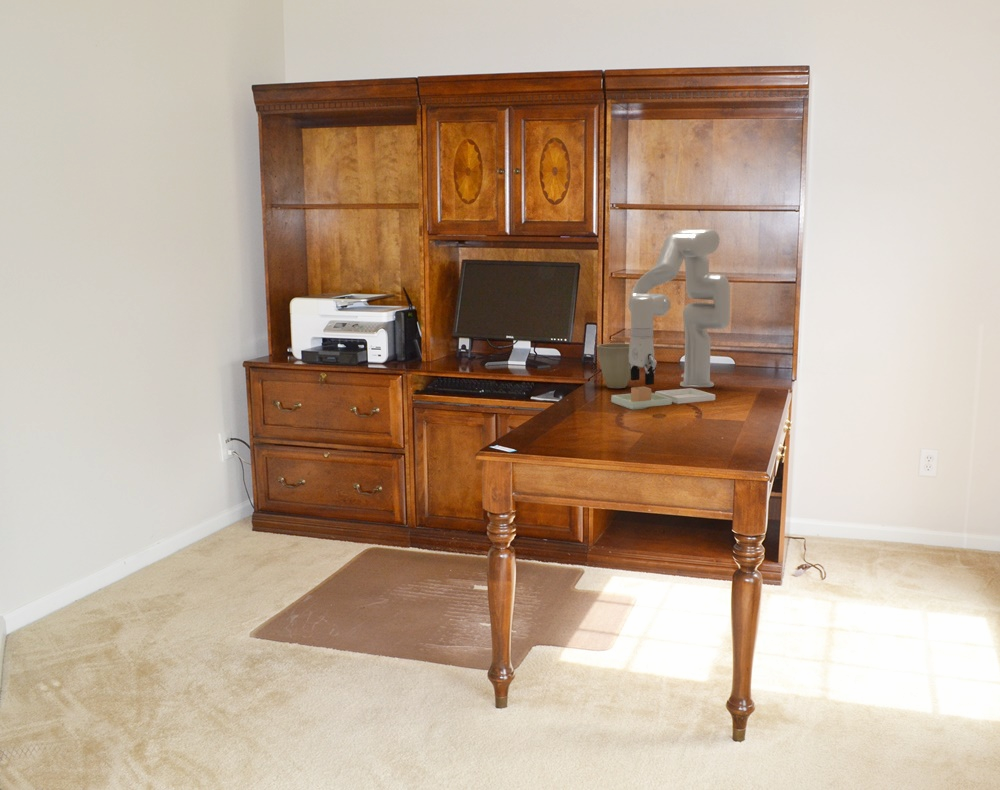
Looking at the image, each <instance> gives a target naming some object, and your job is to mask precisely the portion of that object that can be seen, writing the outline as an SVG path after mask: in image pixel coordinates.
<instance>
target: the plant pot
mask: <svg viewBox="0 0 1000 790" xmlns="http://www.w3.org/2000/svg"><path fill="white" fill-rule="evenodd" d="M629 345H630V343H619V342H617V343H616V342H615V343H603V344H602V343H601V344H597V345H596V348H597V354H598V361H599V366H600V369H601V370H600V371H601V373H602V376H603V377H602V378H603V380H604V382H605V385H606V388H609V389H625V388H627V386H628V384H629V381H630V380H631V369H630V364H629V358H628V355H629Z"/></svg>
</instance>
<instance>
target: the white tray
mask: <svg viewBox="0 0 1000 790" xmlns="http://www.w3.org/2000/svg"><path fill="white" fill-rule="evenodd" d="M654 394H657V395H661V396H664V397H667V398H671V399H672V403H674V404H678V405H679V404H681V405H682V404H689V403H701V402H702V403H703V402H711V401H716V394H715V393H714V394H713V393H712V392H706V391H703V390H699V389H696V388H694V387H686V388H679V389H676V388H675V389H668V390H666V389H665V390H656V391H655V392H654Z"/></svg>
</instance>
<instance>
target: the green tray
mask: <svg viewBox="0 0 1000 790" xmlns="http://www.w3.org/2000/svg"><path fill="white" fill-rule="evenodd" d="M610 399H611V403H612V404H615V405H619V406H621V407H623V408H627V409H630V410H643V409H644V410H645V409H649V408H650V407H658V406H659V407H661V406H667V405H668V406H670V405H672V404H673V402H672V399H671V398H667V397H664V396H661V395H657V394H655V392H651V400H649V401H638V402H632V401H631V393H625V394H624V393H622V394H611V397H610Z"/></svg>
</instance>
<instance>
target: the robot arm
mask: <svg viewBox="0 0 1000 790" xmlns="http://www.w3.org/2000/svg"><path fill="white" fill-rule="evenodd" d="M719 245H720V235H719V233H718V232H717V231H716V230H715V229H712V228H702V229H701V228H686V229H685V228H684V229H683V228H682V229H678V230H676V231H674V232H673V233H672V234H669V235H668V236H666V238H665V240H664V242H663V244H662V247H661V250H660V252H659V255H658V257H657V260H656V262H655V264H654V266H653V267H652V268H651V269H649V270H648V271H646V272H645V273H644V274H643V275H642V276H640V278H638V279H637V281H636V282H635V283H634V286H633V288H632V291H631V293H630V296H629V298H628V309H629V311H630V339H629V344H630V345H629V355H628V358H629V364H630V369H631V375H630V381H639V380H640V368H644V370H645V373H644V385H645V386H650V385H655V373H656V369H657V364H658V363H657V362H658V361H657V360H656V359H655V347H654V317H663V316H664V315H667V314H668V313H669V311H670V309H671V301H670V298H669V296H666V294H661V293H648V292H650V291H651V290H652V289H653V288H656V287H658V286H660V285H663V284H666V283H667V282H670V281H672V280H675V278H677V277H678V274H679V273H680V272H679V271H680V270H681V267H682V264H683V262H684V267H685V288H686V289H685V291H686V295H687V297H688V298H690V299H693V300H703V301H704V300H706V301H713V302H691V303H688V304H686V305H685V307H684V308H683V310H682V320H683V327H684V368H683V369H684V372H683V373H682V374H681V375H680V377H681V378H683V380H682V381H680V383H679V386H680V387H683V388H712V387H714V385H715V384H714V382H713V381H711V380H710V379H711V342H712V340H711V337H710V335H709V332H708V331H707V329H710V330H724V329H725V328H727V327H728V326H729V324H730V319H731V293H730V292H731V289H730V282H729V280H728V278H727V277H726V276H725V275H723V274H720V273H718V274H717V273H710V268H709V267H710V266H709V259H708V255H710V254H713V253H714V252H716V251H717V250H718V248H719Z"/></svg>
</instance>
